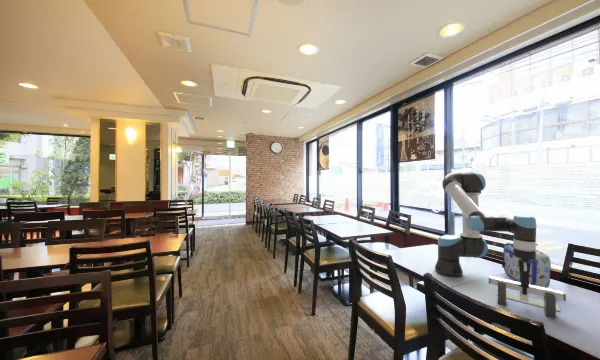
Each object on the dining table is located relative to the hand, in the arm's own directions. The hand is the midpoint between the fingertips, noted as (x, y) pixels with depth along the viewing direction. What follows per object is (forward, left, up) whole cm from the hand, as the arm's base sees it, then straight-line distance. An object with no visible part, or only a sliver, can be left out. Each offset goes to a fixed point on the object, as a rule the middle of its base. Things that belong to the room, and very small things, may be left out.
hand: (523, 299), depth 109 cm
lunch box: (+2, +39, -4) cm, 39 cm away
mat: (+1, +10, -4) cm, 11 cm away
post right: (+8, 0, -4) cm, 9 cm away
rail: (0, 0, +4) cm, 4 cm away
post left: (-8, 0, -4) cm, 9 cm away
